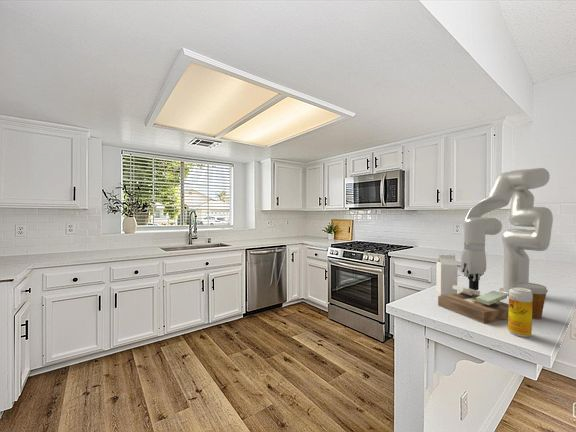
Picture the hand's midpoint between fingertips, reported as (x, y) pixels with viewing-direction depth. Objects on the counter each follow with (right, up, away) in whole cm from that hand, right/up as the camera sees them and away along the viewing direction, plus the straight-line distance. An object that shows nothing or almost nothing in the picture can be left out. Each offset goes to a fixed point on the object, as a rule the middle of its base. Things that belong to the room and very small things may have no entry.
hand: (473, 289), depth 123 cm
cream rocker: (-4, -1, -2) cm, 5 cm away
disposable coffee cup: (+14, -7, -13) cm, 20 cm away
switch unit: (-4, -7, -8) cm, 11 cm away
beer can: (-3, -8, -28) cm, 30 cm away
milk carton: (-4, -6, +15) cm, 17 cm away
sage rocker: (-1, -1, -12) cm, 12 cm away
